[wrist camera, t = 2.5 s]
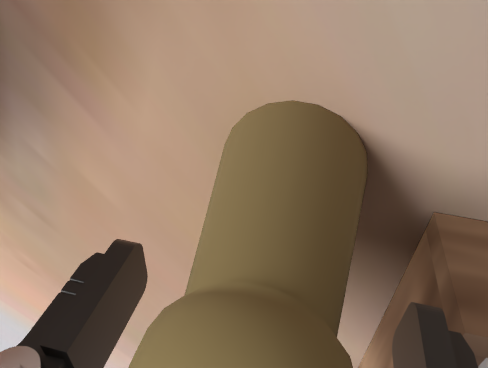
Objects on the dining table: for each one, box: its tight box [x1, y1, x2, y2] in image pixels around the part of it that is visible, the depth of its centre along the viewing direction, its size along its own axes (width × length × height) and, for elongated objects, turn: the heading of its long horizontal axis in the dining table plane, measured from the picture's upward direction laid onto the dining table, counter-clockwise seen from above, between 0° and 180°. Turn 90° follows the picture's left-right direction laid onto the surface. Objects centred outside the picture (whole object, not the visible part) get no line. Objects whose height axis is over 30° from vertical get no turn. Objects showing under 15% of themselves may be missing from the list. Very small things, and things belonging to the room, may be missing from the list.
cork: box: [129, 101, 368, 368], centre depth 11 cm, size 6×6×11 cm
